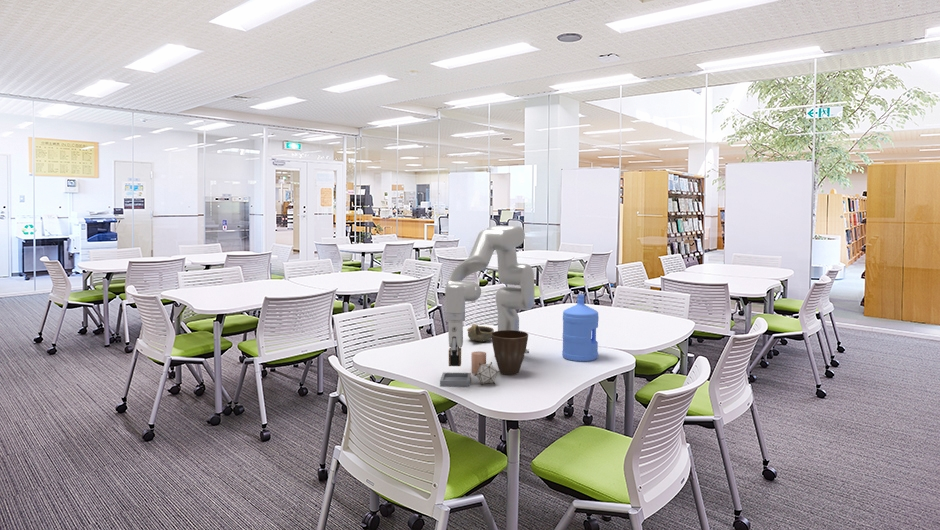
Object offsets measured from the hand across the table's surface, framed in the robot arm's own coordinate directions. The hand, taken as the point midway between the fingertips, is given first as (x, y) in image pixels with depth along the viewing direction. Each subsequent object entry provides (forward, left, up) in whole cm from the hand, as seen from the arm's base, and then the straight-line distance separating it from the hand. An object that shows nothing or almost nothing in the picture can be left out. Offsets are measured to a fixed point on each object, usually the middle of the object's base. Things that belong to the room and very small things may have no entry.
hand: (455, 363), depth 215 cm
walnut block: (0, 0, -1) cm, 1 cm away
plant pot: (-21, -13, -8) cm, 26 cm away
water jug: (-53, -38, -8) cm, 66 cm away
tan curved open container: (-7, -68, -8) cm, 69 cm away
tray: (0, 0, -7) cm, 7 cm away
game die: (-12, +2, -8) cm, 14 cm away
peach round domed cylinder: (-9, -13, -7) cm, 17 cm away
